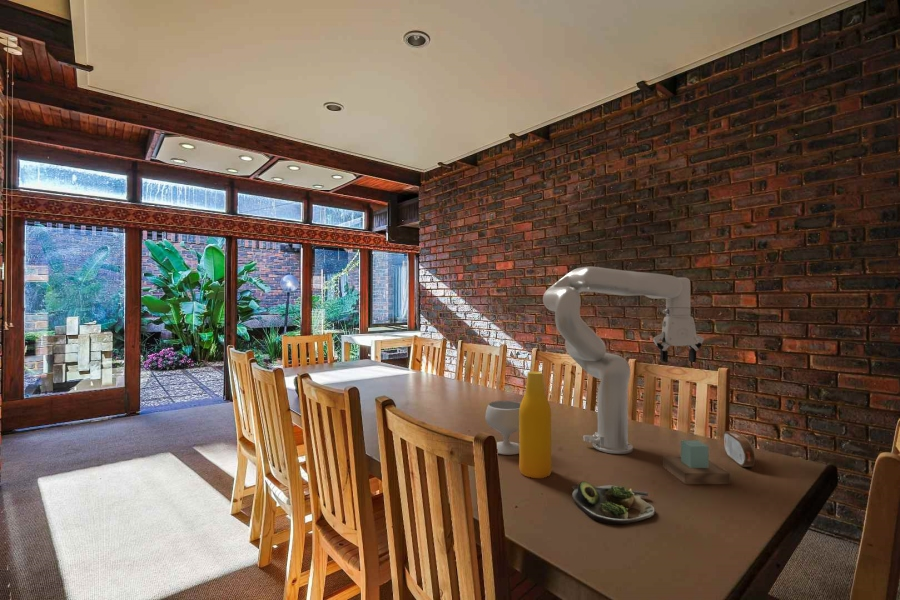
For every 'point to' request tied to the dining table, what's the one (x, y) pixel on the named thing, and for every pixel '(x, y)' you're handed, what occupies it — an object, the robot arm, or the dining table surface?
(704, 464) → the teal block
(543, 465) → the beer bottle
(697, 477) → the walnut base
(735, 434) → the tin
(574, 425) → the dining table surface
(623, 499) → the salad plate
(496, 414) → the chalice
